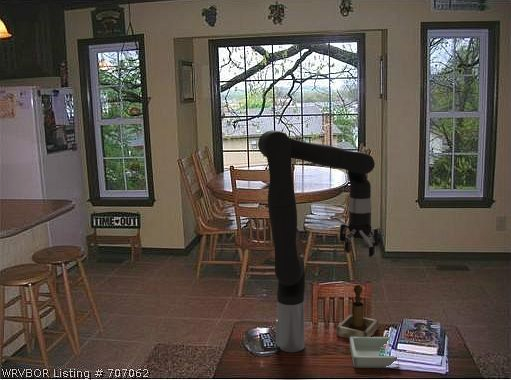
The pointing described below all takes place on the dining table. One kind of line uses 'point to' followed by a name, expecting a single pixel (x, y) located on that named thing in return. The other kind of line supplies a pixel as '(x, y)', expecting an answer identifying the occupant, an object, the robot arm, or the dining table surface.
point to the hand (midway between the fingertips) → (359, 254)
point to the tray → (369, 352)
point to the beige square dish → (348, 332)
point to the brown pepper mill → (358, 311)
